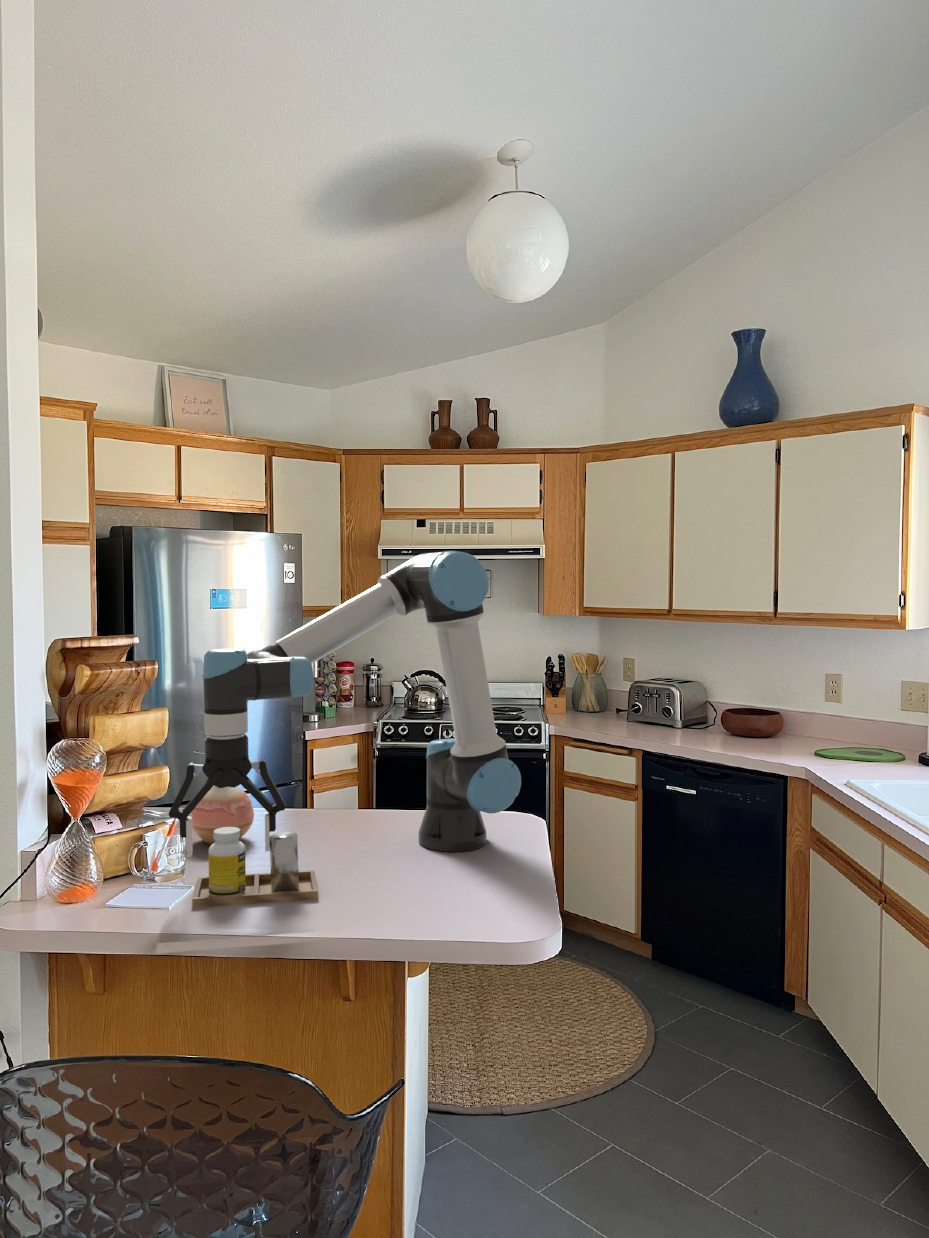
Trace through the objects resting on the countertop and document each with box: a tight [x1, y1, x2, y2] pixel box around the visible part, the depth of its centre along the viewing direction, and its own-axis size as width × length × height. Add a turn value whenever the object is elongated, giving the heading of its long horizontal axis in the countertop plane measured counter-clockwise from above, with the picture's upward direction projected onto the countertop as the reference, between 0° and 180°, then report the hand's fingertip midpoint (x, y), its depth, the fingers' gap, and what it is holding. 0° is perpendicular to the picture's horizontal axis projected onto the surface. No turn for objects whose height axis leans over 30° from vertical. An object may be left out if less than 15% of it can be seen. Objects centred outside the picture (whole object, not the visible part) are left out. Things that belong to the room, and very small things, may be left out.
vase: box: [189, 786, 255, 846], centre depth 196 cm, size 14×14×18 cm
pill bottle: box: [208, 827, 247, 896], centre depth 160 cm, size 6×6×12 cm
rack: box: [191, 869, 319, 909], centre depth 161 cm, size 21×12×3 cm, turn 102°
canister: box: [269, 831, 300, 892], centre depth 162 cm, size 5×5×10 cm
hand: (229, 852), depth 160 cm, fingers open, 13 cm apart
